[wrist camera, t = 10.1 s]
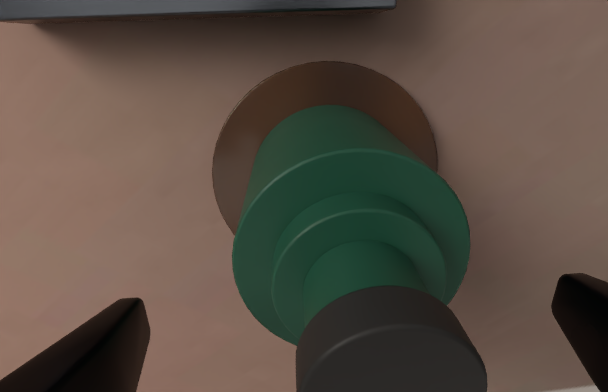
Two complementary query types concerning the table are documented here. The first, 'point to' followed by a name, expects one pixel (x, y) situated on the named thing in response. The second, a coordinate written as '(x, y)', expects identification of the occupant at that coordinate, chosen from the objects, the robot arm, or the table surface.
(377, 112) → the walnut coaster
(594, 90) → the table surface
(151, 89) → the table surface
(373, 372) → the green bottle
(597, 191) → the table surface
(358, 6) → the black flat square slab
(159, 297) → the table surface
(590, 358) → the robot arm
